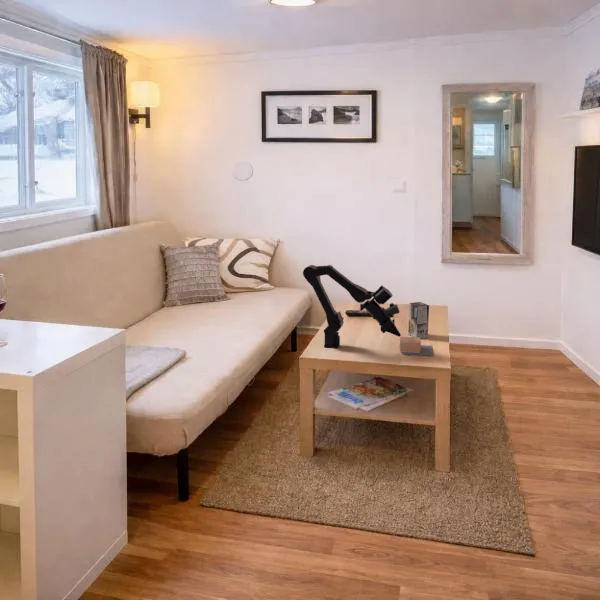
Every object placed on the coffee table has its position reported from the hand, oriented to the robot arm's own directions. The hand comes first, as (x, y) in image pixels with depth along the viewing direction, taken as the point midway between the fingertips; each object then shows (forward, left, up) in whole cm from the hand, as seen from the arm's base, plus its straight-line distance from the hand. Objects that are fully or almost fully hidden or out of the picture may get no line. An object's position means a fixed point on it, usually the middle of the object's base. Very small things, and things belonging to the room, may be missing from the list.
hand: (400, 335), depth 292 cm
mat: (+8, 0, -7) cm, 10 cm away
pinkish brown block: (0, 0, -4) cm, 4 cm away
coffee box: (+9, +26, -7) cm, 28 cm away
